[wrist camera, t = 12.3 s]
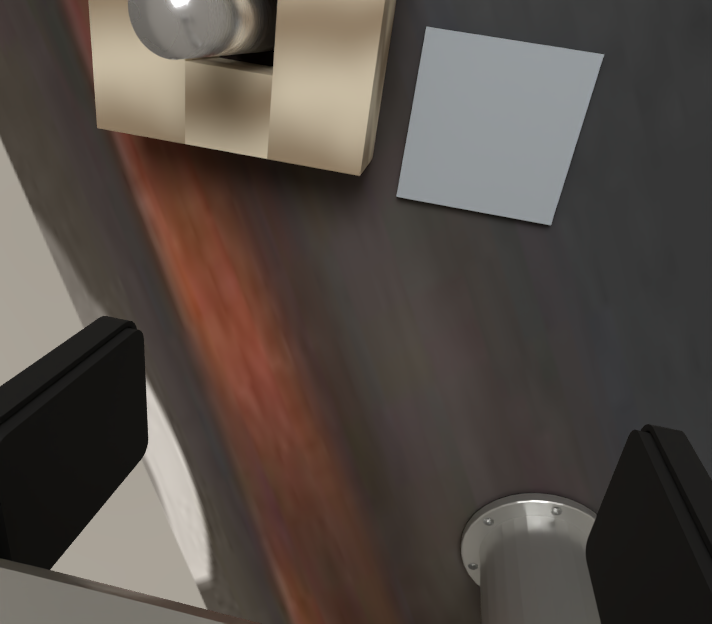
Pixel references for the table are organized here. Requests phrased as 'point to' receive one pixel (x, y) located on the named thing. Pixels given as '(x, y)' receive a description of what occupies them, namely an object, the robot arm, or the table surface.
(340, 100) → the hole block
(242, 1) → the peg
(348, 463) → the table surface
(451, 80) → the mat
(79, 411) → the robot arm
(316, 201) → the table surface
